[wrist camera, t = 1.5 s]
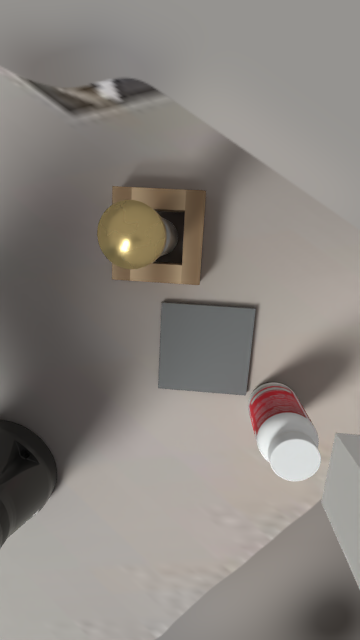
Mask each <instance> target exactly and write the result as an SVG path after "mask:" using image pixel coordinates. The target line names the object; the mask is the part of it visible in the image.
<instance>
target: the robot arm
mask: <svg viewBox="0 0 360 640" xmlns="http://www.w3.org/2000/svg"><path fill="white" fill-rule="evenodd" d="M56 477H57V472H56V465H55V462H54V459H53V456H52V454H51V452H50V451H49V449H48V448H47V446H46V445H45V444H44V442H43V441H42V440H41V439H40V438H39V437H38V436H36V435H35V434H34V433H32V432H31V431H30V430H28V429H26V428H24V427H22V426H20V425H18V424H15V423H12V422H8V421H2V420H0V548H1V547H2V545H3V544H4V542H5V541H6V539H7V538H8V537H9V536H10V535H11V534H13V533H14V532H15V531H16V530H17V529H18V528H20V527H21V526H22V525H23V524H24V523H25V522H26V521H27V520H29V519H30V518H32V517H33V516H34V515H36V514H37V513H38V512H39V511H40V510H41V509H42V508H43V506H44V505H45V503H46V502H47V500H48V498H49V497H50V495H51V493H52V492H53V490H54V487H55V484H56ZM322 505H323V507H324V510H325V511H326V514H327V516H328V519H329V521H330V523H331V525H332V528H333V530H334V532H335V535H336V537H337V539H338V541H339V543H340V546H341V548H342V550H343V553H344V555H345V557H346V560H347V561H348V564H349V566H350V569H351V571H352V573H353V575H354V578H355V580H356V582H357V584H358V587H359V589H360V435H353V434H343V433H336V434H335V439H334V443H333V448H332V453H331V458H330V463H329V468H328V473H327V478H326V482H325V487H324V492H323V497H322Z"/></svg>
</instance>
